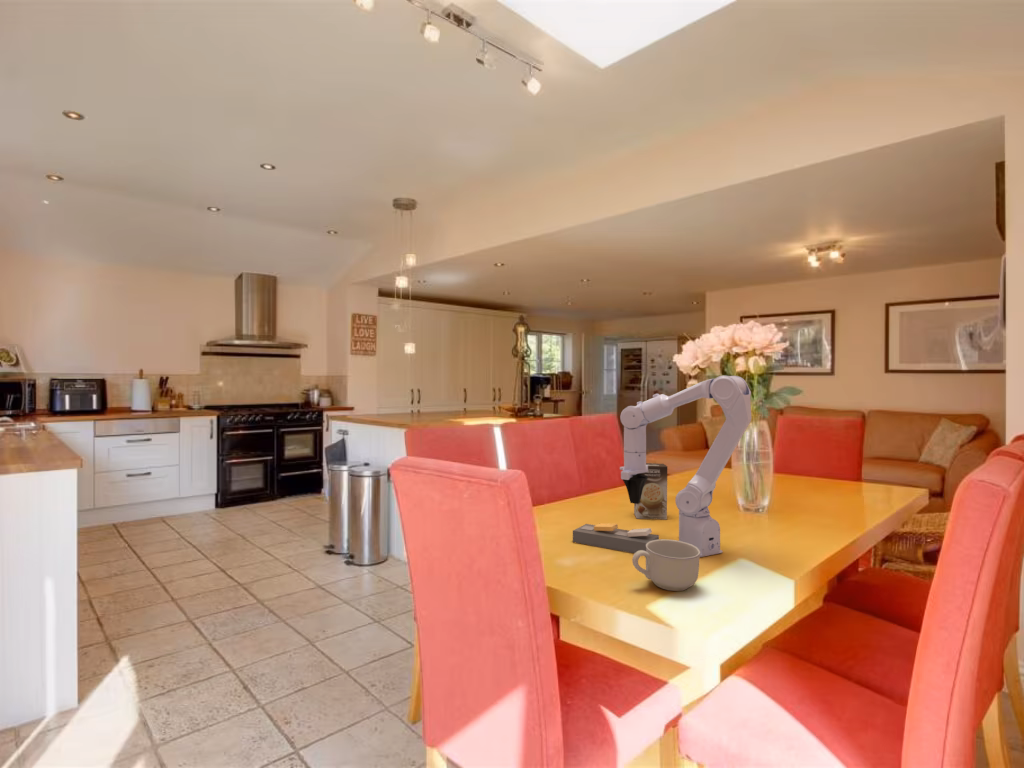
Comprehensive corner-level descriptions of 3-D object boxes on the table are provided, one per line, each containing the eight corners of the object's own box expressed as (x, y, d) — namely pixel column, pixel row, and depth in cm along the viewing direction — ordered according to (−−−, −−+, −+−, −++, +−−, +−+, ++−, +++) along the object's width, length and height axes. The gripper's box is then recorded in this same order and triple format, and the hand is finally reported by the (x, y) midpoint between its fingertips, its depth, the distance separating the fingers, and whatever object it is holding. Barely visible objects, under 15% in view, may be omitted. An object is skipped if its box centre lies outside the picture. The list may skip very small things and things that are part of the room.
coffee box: (636, 519, 165) (636, 465, 165) (633, 513, 172) (633, 462, 172) (667, 519, 165) (667, 466, 164) (663, 514, 171) (664, 462, 171)
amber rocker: (617, 527, 142) (617, 523, 142) (612, 531, 138) (611, 527, 139) (600, 527, 144) (599, 523, 144) (594, 530, 141) (593, 526, 141)
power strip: (658, 547, 138) (658, 534, 138) (647, 555, 131) (647, 542, 131) (586, 534, 149) (586, 523, 149) (572, 542, 142) (572, 530, 142)
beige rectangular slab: (651, 532, 137) (650, 528, 137) (646, 535, 134) (645, 531, 134) (632, 533, 139) (632, 529, 139) (627, 536, 136) (626, 532, 136)
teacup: (689, 575, 118) (689, 538, 118) (708, 595, 107) (708, 554, 107) (624, 576, 117) (624, 539, 117) (637, 596, 107) (637, 555, 107)
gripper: (630, 447, 153) (630, 496, 154) (609, 453, 141) (609, 506, 141) (655, 449, 150) (655, 499, 150) (636, 455, 137) (636, 509, 138)
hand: (635, 502), depth 145 cm, fingers closed
